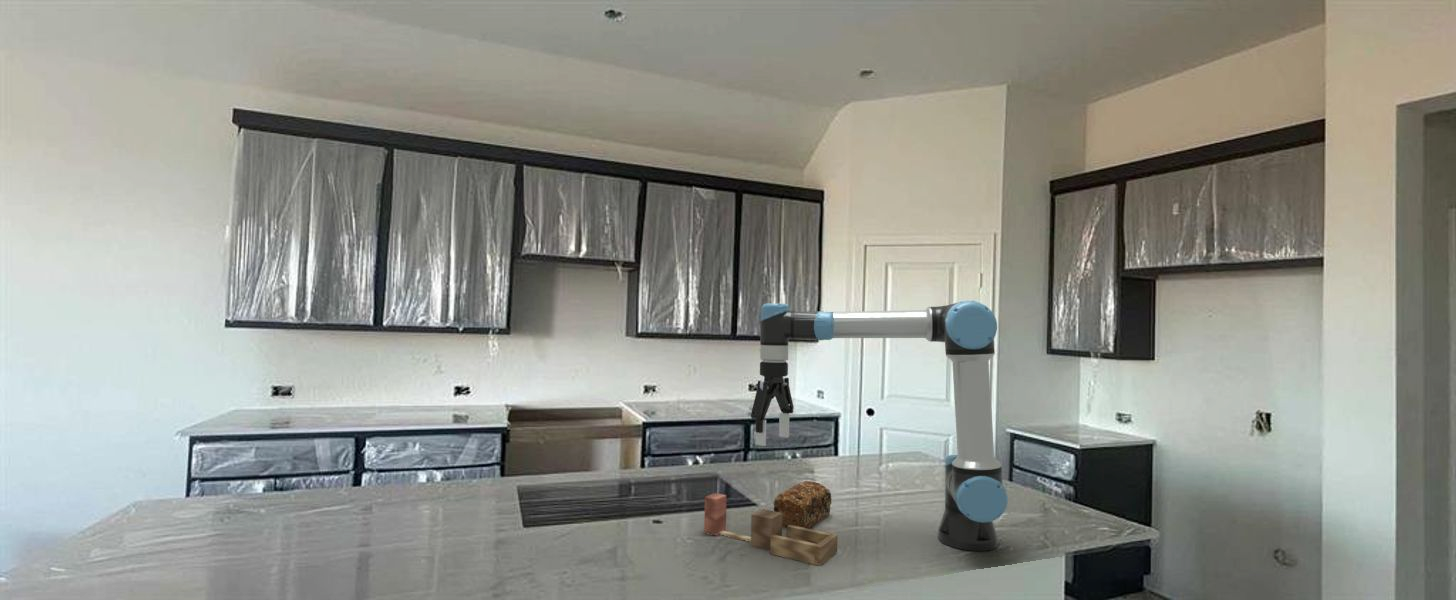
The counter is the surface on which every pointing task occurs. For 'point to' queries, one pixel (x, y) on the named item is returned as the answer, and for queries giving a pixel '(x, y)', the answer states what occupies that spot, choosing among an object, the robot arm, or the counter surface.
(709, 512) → the tethered block
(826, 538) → the frame
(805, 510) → the bread
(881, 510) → the counter surface
